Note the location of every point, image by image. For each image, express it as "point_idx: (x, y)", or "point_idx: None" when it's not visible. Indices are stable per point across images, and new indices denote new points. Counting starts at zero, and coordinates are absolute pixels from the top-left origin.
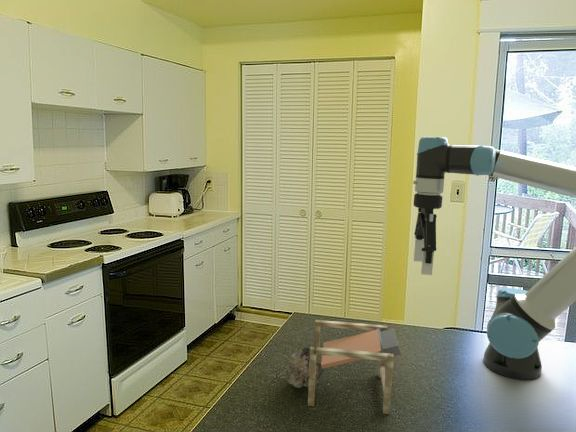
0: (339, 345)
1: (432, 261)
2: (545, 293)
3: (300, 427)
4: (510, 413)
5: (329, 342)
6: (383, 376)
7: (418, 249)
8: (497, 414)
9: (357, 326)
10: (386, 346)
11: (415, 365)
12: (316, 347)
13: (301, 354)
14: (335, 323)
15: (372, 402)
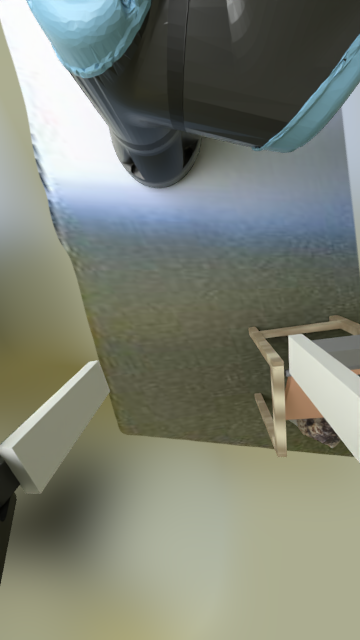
0: (308, 407)
1: (349, 372)
2: None
3: None
4: (309, 155)
5: (286, 415)
6: (290, 332)
7: (75, 420)
8: (315, 176)
9: (284, 403)
10: None
11: (208, 290)
12: None
13: (337, 441)
14: (285, 432)
15: (314, 334)
